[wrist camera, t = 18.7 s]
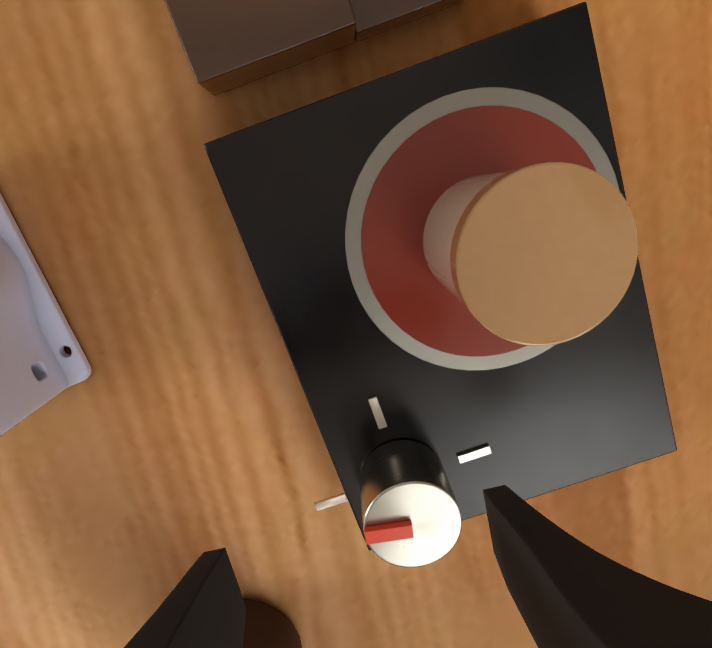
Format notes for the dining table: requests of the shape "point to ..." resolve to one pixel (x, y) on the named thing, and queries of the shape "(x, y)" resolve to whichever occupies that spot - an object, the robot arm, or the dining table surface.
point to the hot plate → (389, 361)
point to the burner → (419, 194)
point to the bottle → (268, 628)
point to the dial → (408, 504)
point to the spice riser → (278, 32)
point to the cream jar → (534, 250)
